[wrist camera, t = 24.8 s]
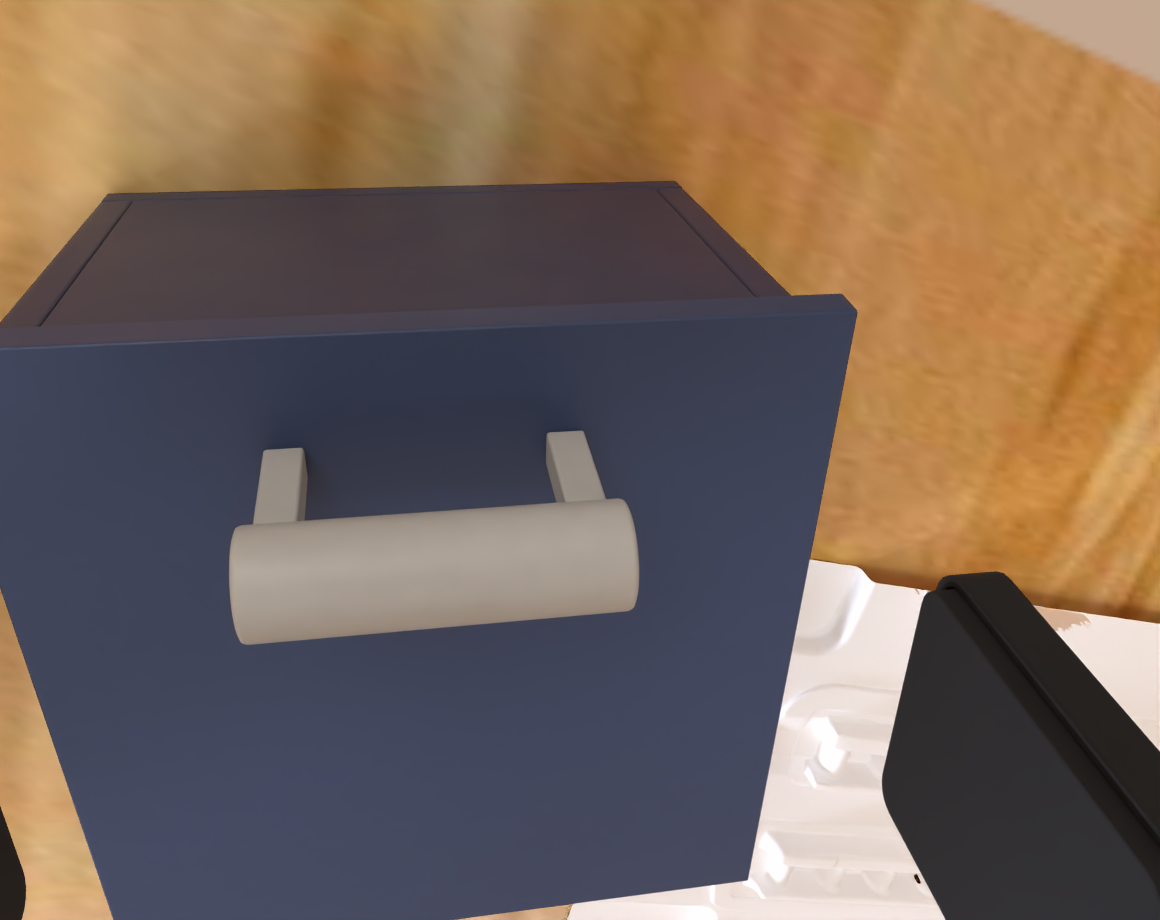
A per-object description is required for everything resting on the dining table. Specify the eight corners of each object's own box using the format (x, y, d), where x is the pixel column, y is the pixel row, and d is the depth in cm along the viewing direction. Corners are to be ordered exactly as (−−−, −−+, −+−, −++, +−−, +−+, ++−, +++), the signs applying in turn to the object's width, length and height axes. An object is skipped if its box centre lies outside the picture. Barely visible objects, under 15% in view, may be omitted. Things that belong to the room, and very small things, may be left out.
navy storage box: (106, 193, 28) (-25, 347, 19) (676, 180, 31) (810, 311, 21) (196, 656, 36) (134, 932, 26) (648, 616, 38) (738, 855, 29)
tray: (1091, 958, 53) (1135, 1027, 50) (556, 920, 47) (566, 997, 43) (1316, 631, 45) (1387, 689, 41) (699, 527, 38) (726, 586, 35)
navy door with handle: (-65, 329, 17) (-200, 507, 13) (842, 292, 20) (969, 432, 16) (133, 933, 26) (90, 1152, 22) (739, 855, 29) (802, 1039, 25)
